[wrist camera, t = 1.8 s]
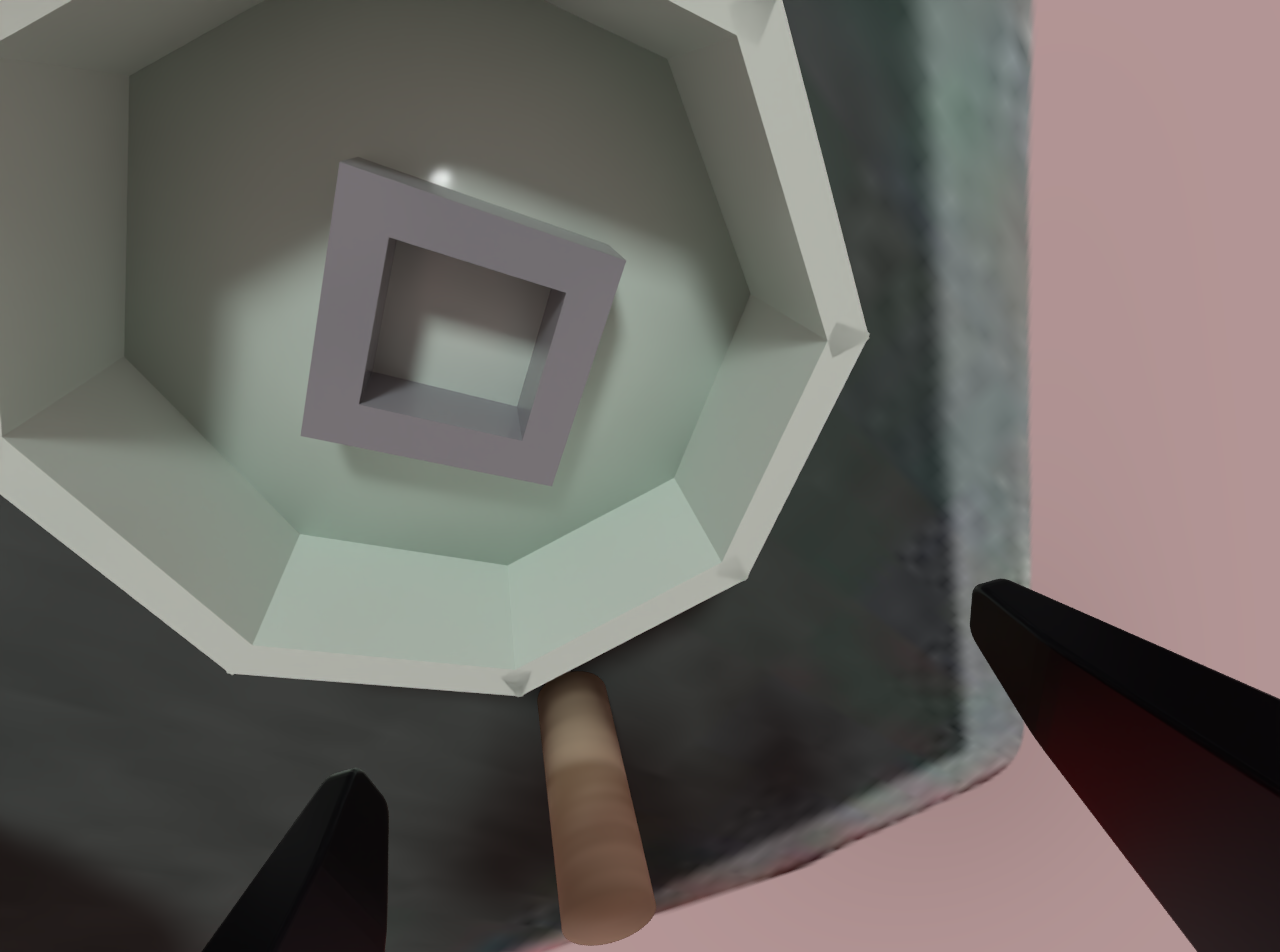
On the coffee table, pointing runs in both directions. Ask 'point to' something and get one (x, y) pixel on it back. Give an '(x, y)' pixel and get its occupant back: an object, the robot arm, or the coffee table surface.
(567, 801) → the beige rounded cylinder
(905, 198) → the coffee table surface
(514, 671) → the octagonal white bin
